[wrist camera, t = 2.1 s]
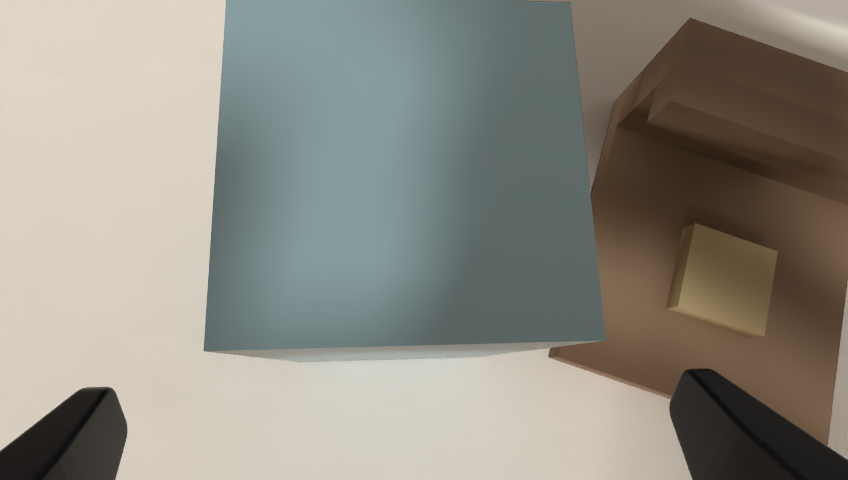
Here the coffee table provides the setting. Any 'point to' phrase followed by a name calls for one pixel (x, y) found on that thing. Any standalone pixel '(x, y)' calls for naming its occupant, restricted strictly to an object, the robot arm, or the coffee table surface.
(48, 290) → the coffee table surface
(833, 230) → the dock
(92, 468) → the robot arm
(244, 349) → the grey-blue block
